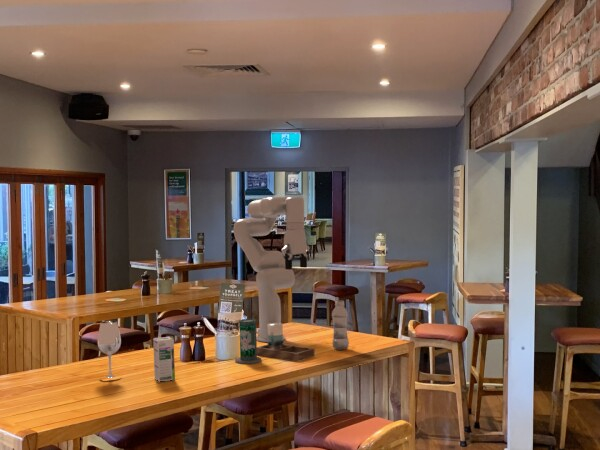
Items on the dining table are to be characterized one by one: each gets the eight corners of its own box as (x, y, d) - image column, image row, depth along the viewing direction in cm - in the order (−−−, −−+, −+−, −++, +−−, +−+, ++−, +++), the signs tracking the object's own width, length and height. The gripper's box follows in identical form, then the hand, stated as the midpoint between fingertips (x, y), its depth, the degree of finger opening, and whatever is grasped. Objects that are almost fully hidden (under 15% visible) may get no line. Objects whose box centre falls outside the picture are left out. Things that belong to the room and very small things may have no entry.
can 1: (237, 360, 259) (236, 321, 258) (245, 356, 264) (244, 318, 264) (252, 361, 256) (251, 322, 256) (259, 358, 262) (258, 319, 261)
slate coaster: (229, 361, 259) (229, 360, 259) (247, 356, 267) (247, 355, 267) (249, 365, 253) (248, 363, 253) (266, 360, 261) (266, 358, 261)
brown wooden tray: (256, 354, 270) (256, 347, 270) (274, 350, 279) (274, 342, 279) (297, 361, 257) (297, 353, 257) (314, 356, 266) (314, 348, 266)
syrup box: (158, 382, 230) (157, 340, 230) (154, 379, 235) (153, 337, 235) (175, 380, 233) (174, 338, 232) (170, 376, 238) (169, 335, 238)
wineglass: (126, 376, 239) (124, 320, 239) (113, 382, 232) (111, 324, 231) (107, 375, 242) (105, 319, 241) (94, 381, 234) (92, 323, 234)
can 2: (264, 354, 271) (264, 324, 270) (274, 351, 275) (274, 322, 275) (276, 356, 267) (275, 326, 266) (286, 353, 272) (285, 323, 271)
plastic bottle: (349, 351, 274) (348, 301, 273) (332, 351, 274) (331, 302, 273) (348, 347, 280) (347, 299, 279) (332, 348, 280) (331, 299, 280)
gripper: (301, 226, 288) (302, 266, 289) (274, 227, 275) (275, 269, 275) (315, 226, 284) (316, 267, 284) (289, 227, 270) (289, 270, 271)
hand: (296, 268), depth 280 cm, fingers open, 9 cm apart
